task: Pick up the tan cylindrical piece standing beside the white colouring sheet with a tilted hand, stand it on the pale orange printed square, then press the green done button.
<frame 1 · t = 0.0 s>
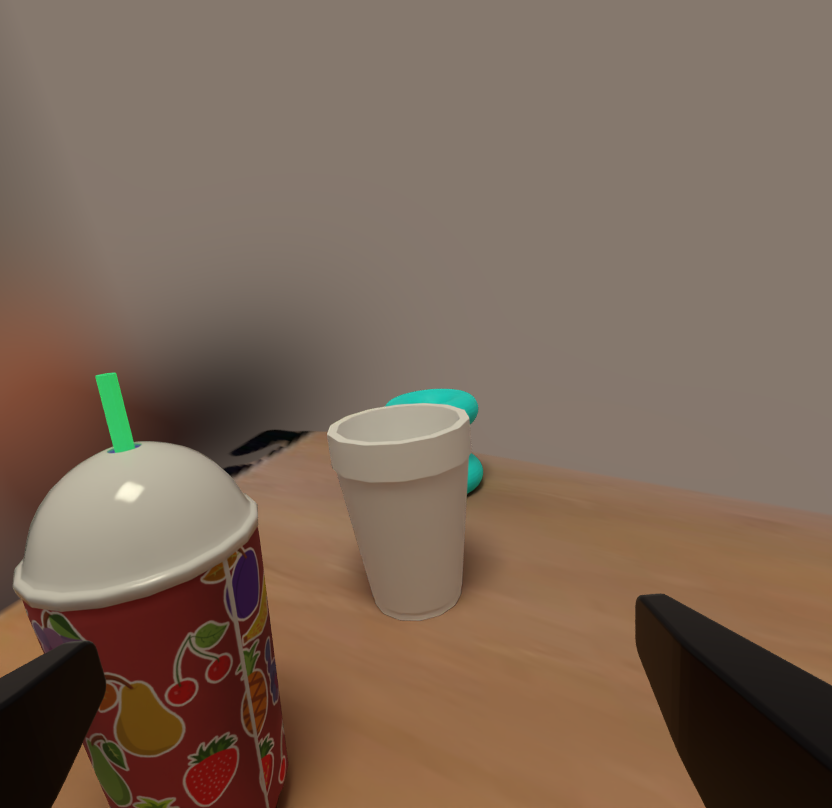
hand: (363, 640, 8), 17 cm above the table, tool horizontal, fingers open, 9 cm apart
donuts: (438, 487, 56), on the table
foam cup: (418, 594, 37), on the table
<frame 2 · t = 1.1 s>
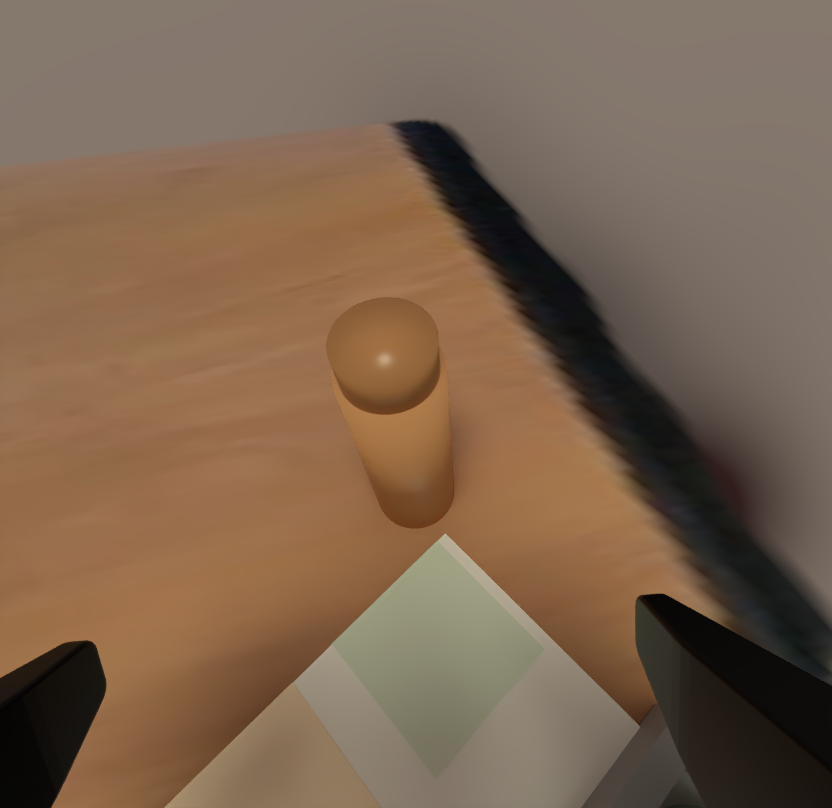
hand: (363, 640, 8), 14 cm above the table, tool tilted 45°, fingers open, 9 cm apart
tan cylindrical piece: (415, 491, 24), on the table
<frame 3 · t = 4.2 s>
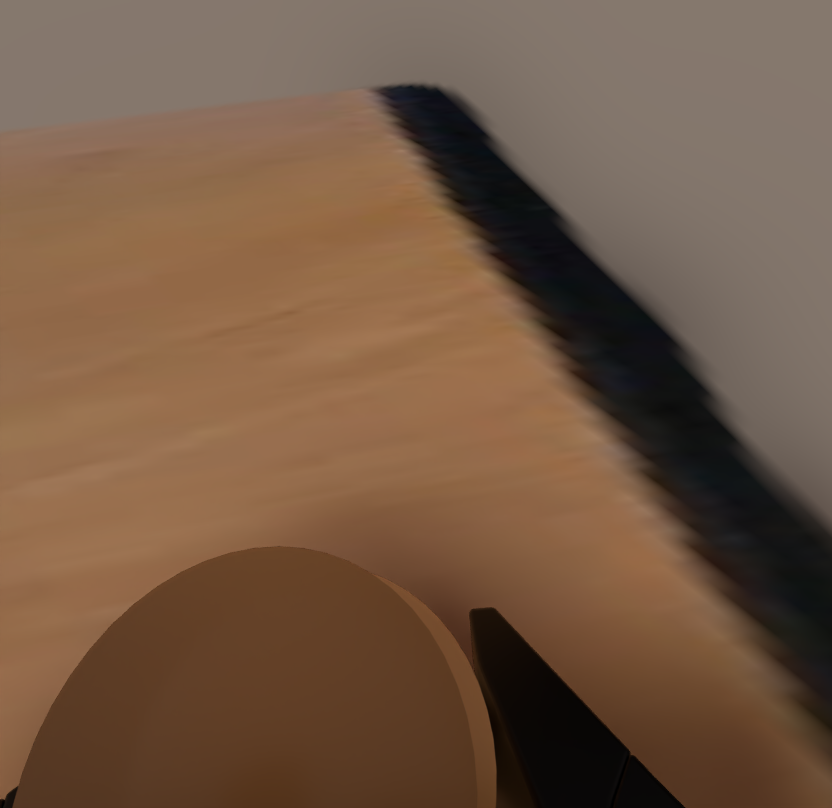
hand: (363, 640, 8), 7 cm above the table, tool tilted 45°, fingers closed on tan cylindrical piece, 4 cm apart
tan cylindrical piece: (407, 728, 13), on the table, touching gripper
when the fingers open (8 cm above the table, at t = 7.6 s): tan cylindrical piece stays where it is, resting on sheet.
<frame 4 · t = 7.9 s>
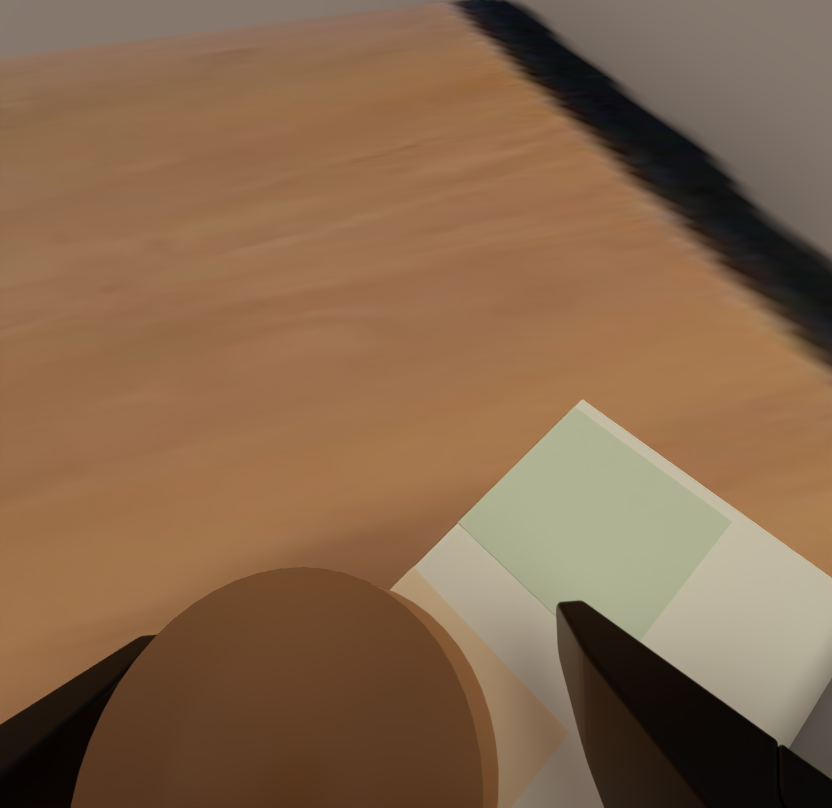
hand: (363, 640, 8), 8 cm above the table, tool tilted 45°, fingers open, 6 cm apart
tan cylindrical piece: (409, 728, 14), resting on sheet
sheet: (681, 767, 13), on the table
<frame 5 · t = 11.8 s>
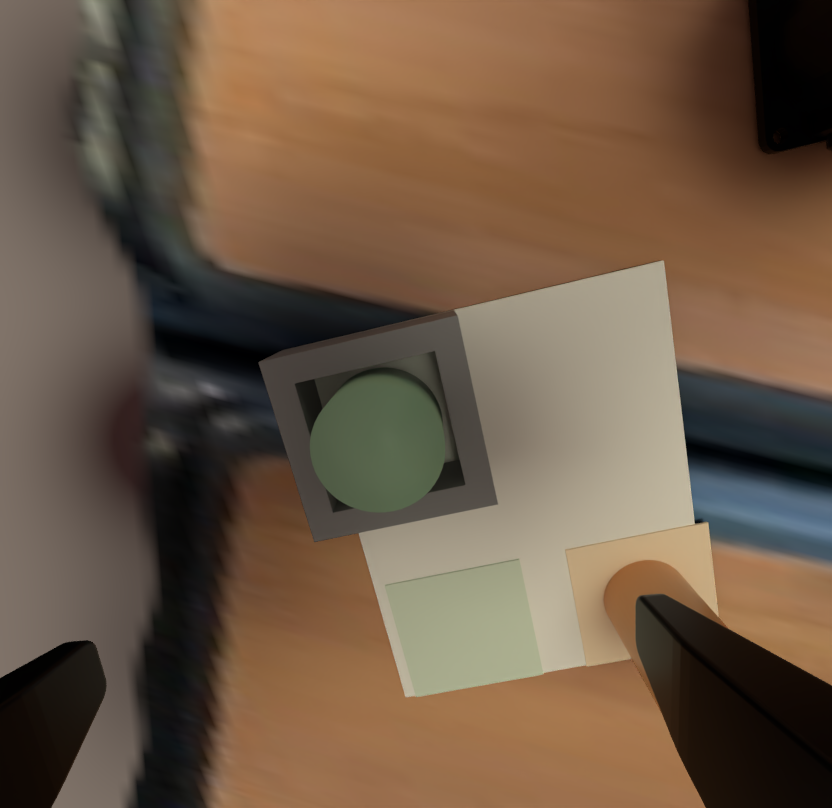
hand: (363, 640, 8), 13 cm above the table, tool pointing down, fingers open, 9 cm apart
tan cylindrical piece: (645, 597, 22), resting on sheet
sheet: (518, 501, 22), on the table
done button: (381, 436, 18), point 3 cm above the table, slide at 0.0 cm
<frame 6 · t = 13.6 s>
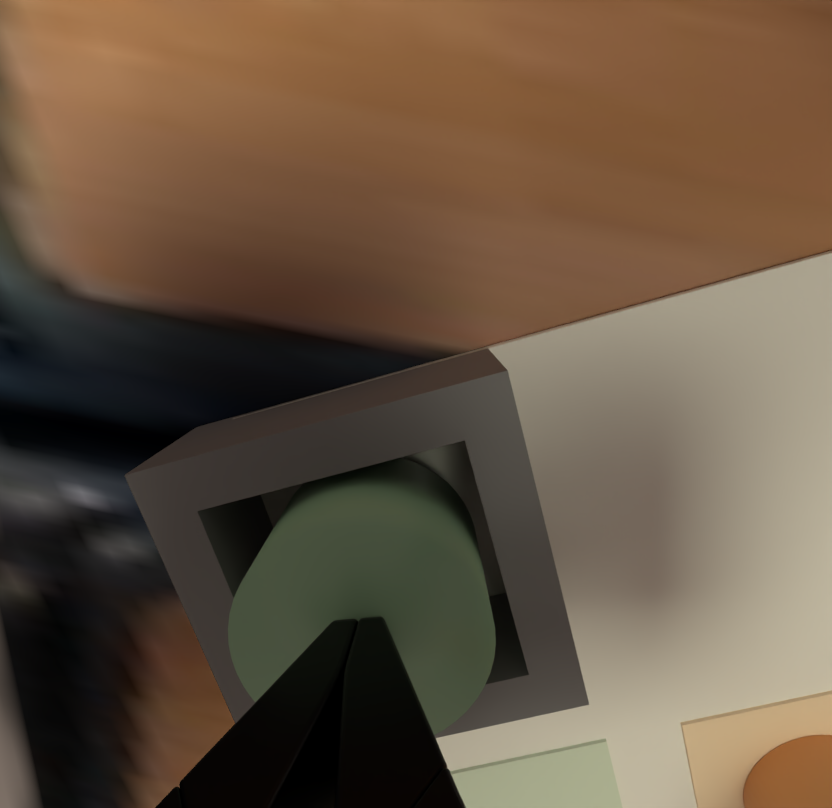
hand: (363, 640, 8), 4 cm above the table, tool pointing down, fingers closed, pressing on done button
tan cylindrical piece: (810, 788, 14), resting on sheet
sheet: (602, 649, 13), on the table
done button: (370, 589, 10), point 3 cm above the table, slide at 0.3 cm, touching gripper
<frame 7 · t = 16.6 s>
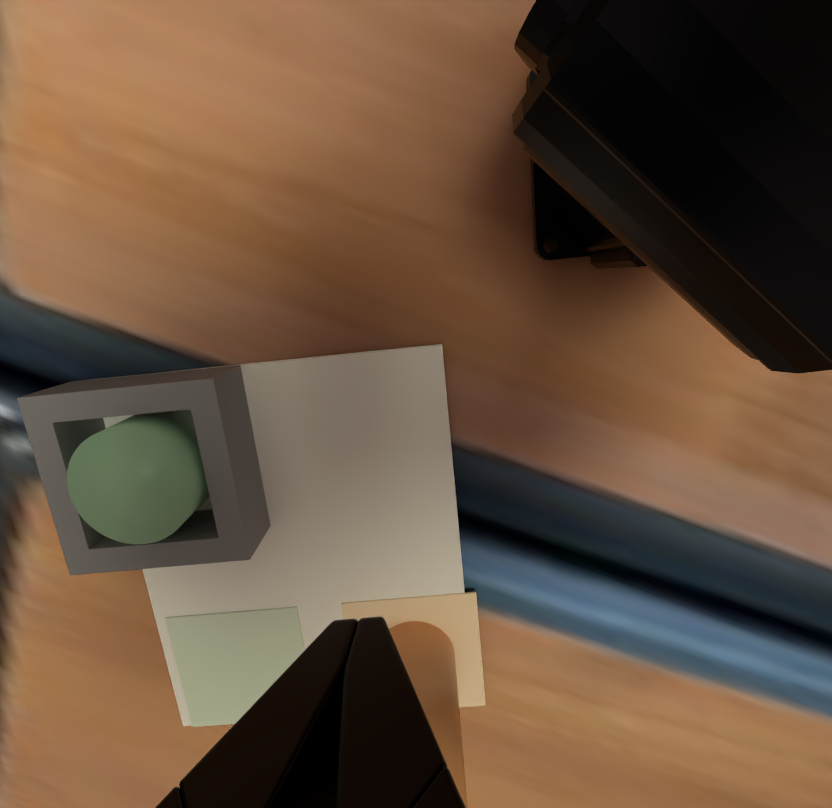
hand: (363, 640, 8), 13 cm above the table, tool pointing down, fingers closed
tan cylindrical piece: (415, 655, 23), resting on sheet
sheet: (300, 551, 23), on the table
done button: (151, 472, 20), point 2 cm above the table, slide at 1.1 cm
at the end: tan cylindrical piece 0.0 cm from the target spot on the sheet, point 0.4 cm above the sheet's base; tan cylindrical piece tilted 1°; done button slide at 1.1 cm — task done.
